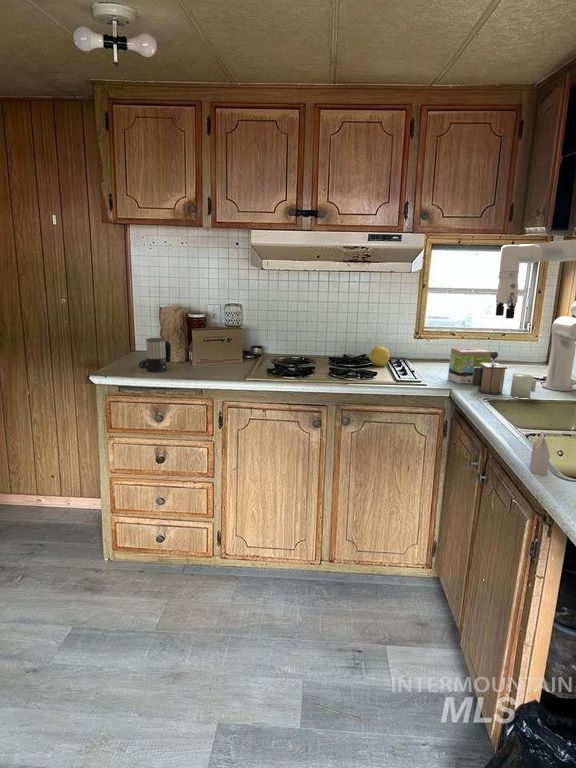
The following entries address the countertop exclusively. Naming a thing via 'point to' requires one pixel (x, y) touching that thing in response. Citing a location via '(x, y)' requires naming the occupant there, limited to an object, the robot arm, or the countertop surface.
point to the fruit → (379, 356)
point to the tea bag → (540, 456)
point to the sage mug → (522, 385)
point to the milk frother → (157, 355)
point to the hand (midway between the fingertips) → (504, 316)
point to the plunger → (493, 356)
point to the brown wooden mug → (489, 378)
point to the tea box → (466, 363)
